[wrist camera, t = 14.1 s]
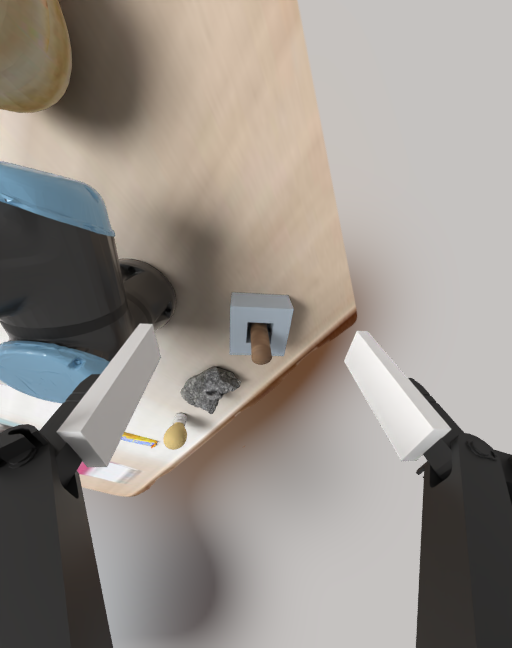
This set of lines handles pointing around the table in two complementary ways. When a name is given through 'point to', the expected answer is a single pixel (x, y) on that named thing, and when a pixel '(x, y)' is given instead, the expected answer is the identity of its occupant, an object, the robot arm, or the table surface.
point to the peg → (260, 343)
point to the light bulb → (176, 433)
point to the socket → (259, 320)
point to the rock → (209, 388)
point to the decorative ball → (33, 55)
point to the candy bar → (138, 439)
